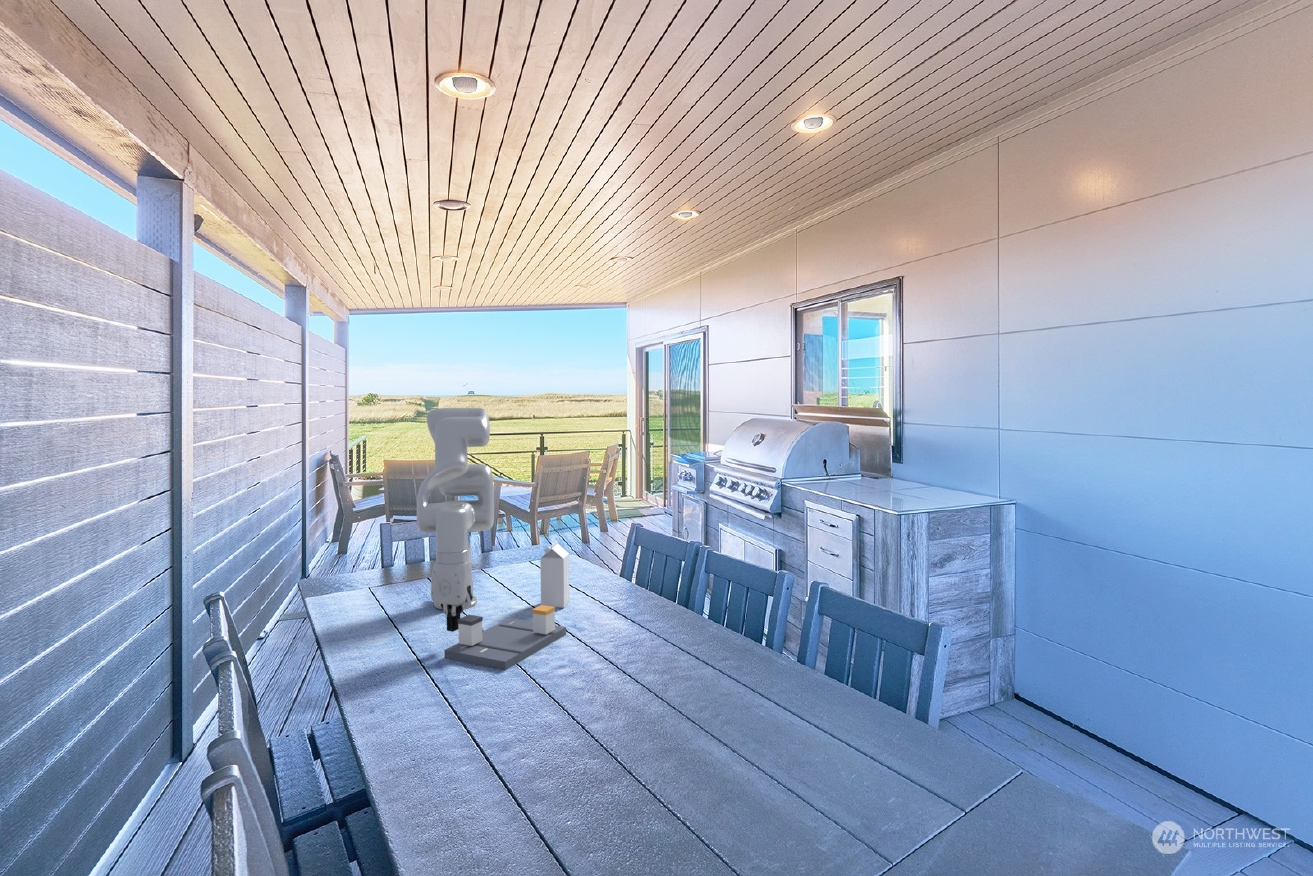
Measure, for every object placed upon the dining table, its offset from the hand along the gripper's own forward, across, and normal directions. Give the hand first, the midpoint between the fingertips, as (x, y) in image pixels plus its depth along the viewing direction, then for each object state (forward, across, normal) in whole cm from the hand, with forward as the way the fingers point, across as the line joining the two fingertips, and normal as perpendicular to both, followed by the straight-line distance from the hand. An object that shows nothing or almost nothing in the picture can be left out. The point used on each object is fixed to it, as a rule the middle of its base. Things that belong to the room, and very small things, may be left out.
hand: (453, 629), depth 170 cm
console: (+5, +11, +7) cm, 14 cm away
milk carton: (+5, +3, +41) cm, 42 cm away
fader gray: (+2, +5, 0) cm, 6 cm away
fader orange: (+2, +17, +14) cm, 22 cm away
